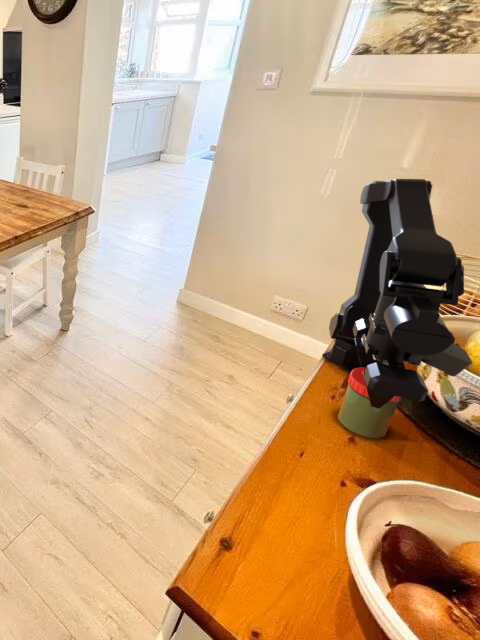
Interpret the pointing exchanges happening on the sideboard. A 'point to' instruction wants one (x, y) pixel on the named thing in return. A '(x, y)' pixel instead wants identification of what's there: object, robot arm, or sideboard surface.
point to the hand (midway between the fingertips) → (372, 394)
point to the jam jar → (365, 415)
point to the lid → (362, 383)
